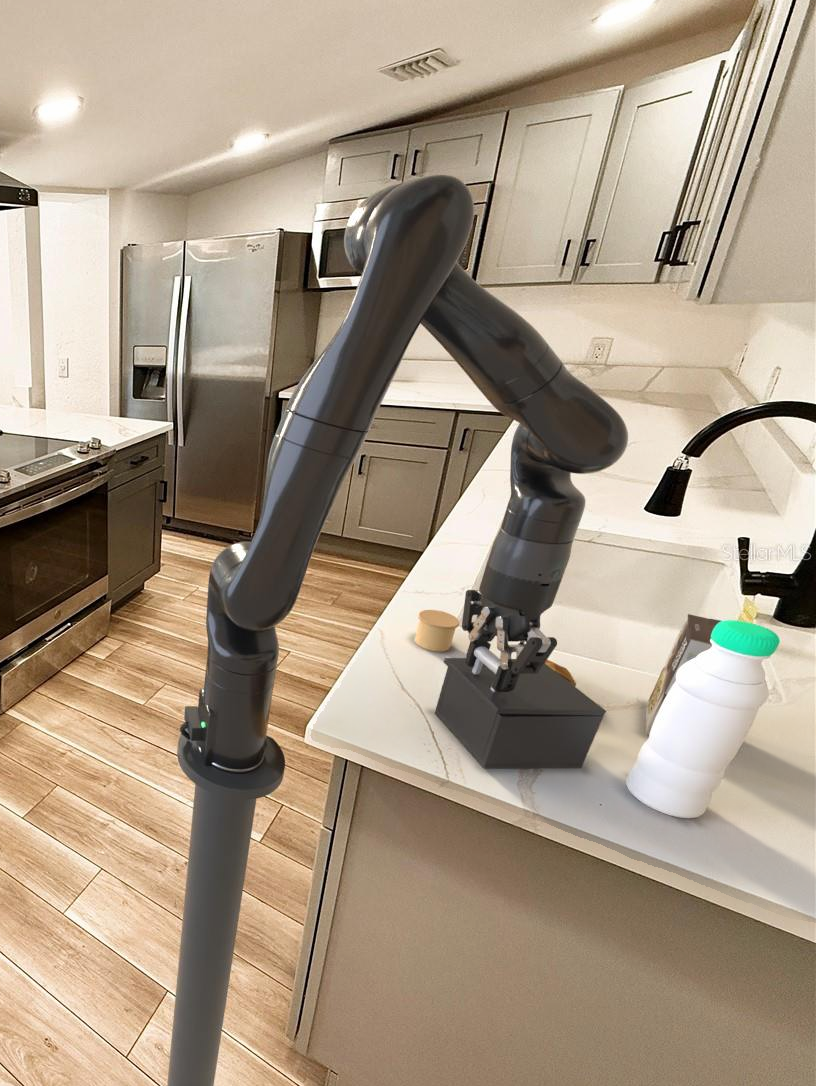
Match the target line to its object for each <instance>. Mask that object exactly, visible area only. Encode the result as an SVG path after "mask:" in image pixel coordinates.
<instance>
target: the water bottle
mask: <svg viewBox="0 0 816 1086" xmlns="http://www.w3.org/2000/svg"><path fill="white" fill-rule="evenodd" d="M720 621H721V622H719V623H718V624H717V625H716V626H715V628H714V629H713V631H712V634H711V639H710V642H711V644H712V647H711V648H710V649H709V650H706V651H704V652H702V653H700V654H699V655H697V656H696V658H693V659H691V660H690V661H688V662H686V663H685V664H683V665H682V666H681V667H680V668H679V669H678V671H677V673H676V681H675V683H674V684H673V686H672V687H671V689H670V690H669V692H668V694H667V695H666V697H665V699H664V701H663V703H662V705H661V707H660V709H659V711H658V714H657V716H656V718H655V721H654V723H653V726H652V728H651V731H650V734H649V735H648V738H647V739H646V740H645V742H644V743H643V744H642V746H641V748H640V750H639V752H638V755H637V759H636V762H635V763H634V764H633V766H632V767H631V768H630V770H629V772H628V774H627V776H626V779H625V780H626V781H625V784H626V787H627V789H628V791H629V792H630V793H631V795H633V796H634V797H635V798H636V799H637V800H638V801H639V802H641V803H642V804H644V805H645V806H647V807H649V808H650V809H653V810H655V811H657V812H660V813H661V814H665V815H668V816H671V817H675V818H681V819H695V818H698V817H701V816H702V815H704V813H705V812H706V810H707V809H708V807H709V805H710V803H711V800H712V797H713V793H714V792H715V791H716V790H717V789H718V787H719V786H720V784H721V783H722V781H723V779H724V776H725V773H726V769H727V767H728V766H729V765H730V764H731V762H732V761H733V759H734V758H735V756H736V755H737V753H738V751H740V748H741V747H742V745H743V743H744V741H745V740H746V738H747V736H748V734H749V733H750V730H751V728H752V726H753V724H754V722H755V720H756V717H757V714H758V712H759V709H760V708H761V707H762V706H763V705H765V704H766V702H767V700H768V698H769V694H770V693H769V692H770V691H769V686H768V682H767V680H766V671H765V669H764V667H763V663H762V662H763V661H764V660H768V659H770V658H771V657H772V655H773V654H774V653H775V652H776V651H777V649H778V647H779V645H780V641H781V640H780V637H779V636H778V634H777V633H775V632H774V631H773V630H771V629H769V628H767V627H764V626H763V625H762V626H761V625H759V624H757V623H752V622H748V621H743V620H735V619H724V620H720Z"/></svg>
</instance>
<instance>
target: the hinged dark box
mask: <svg viewBox="0 0 816 1086" xmlns="http://www.w3.org/2000/svg"><path fill="white" fill-rule="evenodd" d="M434 715H435V716H436V717H437V718H438V719H439V720H440V721H441V722H442V723H443V725H445V727H446V728H447V729H448V731H450V733H451V734H452V735H453V736H454V737H455V738H456V740H458V741H459V743H460V744H461V745H462V746H463V747H464V748H465V749H466V750H467V752H468V753H469V754H470V755H471V756H472V757H473V759H475V761H476V762H477V763H478V764H479V766H480V767H482V769H484V770H487V769H490V770H491V769H495V770H497V769H498V770H499V769H502V770H504V769H506V770H507V769H508V770H509V769H514V770H515V769H516V770H517V769H519V770H521V769H582V768H583V765H584V763H585V760H586V758H587V756H588V754H589V751H590V749H591V747H592V745H593V742H594V740H595V737H596V735H597V733H598V730H599V728H600V726H601V723H602V721H603V719H604V716H592V715H542V714H496V713H495V712H494V711H493V710H492V709H491V708H490V707H489V706H488V705H487V704H486V703H485V702H484V701H483V700H482V699H481V698H480V697H479V696H478V695H477V694H476V693H475V692H474V691H473V690H472V689H471V688H469V687H468V686H467V685H466V684H465V683H464V682H463V681H462V680H461V679H460V678H459V677H458V676H457V675H456V674H455V673H454V672H453V671H452V670H451V669H450V668H449V667H448V666H447V668H446V671H445V675H444V678H443V682H442V685H441V689H440V693H439V695H438V700H437V703H436V707H435V710H434Z"/></svg>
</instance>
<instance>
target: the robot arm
mask: <svg viewBox="0 0 816 1086" xmlns="http://www.w3.org/2000/svg"><path fill="white" fill-rule="evenodd" d="M472 195H473V194H472V191H470V189H469V187H468V186H467V184H465V182H464V181H462V180H461V179H460V178H458V177H456V176H453V175H449V174H432V175H424V176H421V177H416V178H413V179H409V180H406V181H402V182H399V183H396V184H392V185H390V186H387V187H385V188H382V189H380V190H378V191H376V192H373V193H372V194H371V195H369V196H367V197H366V198H365V199H363V201H362V202H360V203H359V204H358V205H357V207H356V208H355V209H354V210H353V212H352V214H350V217H349V219H348V221H347V224H346V227H345V229H344V235H343V236H344V237H343V247H344V252H345V256H346V258H347V261H348V262H349V264H350V265H351V267H352V268H353V269H354V270H355V271H357V272H358V273H359V274H360V275H361V276H360V279H359V281H358V284H357V286H356V289H355V292H354V294H353V296H352V300H351V302H350V305H349V307H348V309H347V312H346V314H345V316H344V318H343V320H342V322H341V323H340V325H339V327H338V328H337V330H336V332H335V333H334V334H333V337H332V338H331V339H330V341H329V342H328V343H327V344H326V345H325V347H324V349H323V350H322V351H321V352H320V354H319V355H318V356H317V357H316V359H315V360H314V361H313V363H312V364H311V365H310V367H309V368H308V369H307V370H306V372H305V374H304V375H303V376H302V377H301V379H300V380H299V382H298V384H297V385H296V387H295V388H294V390H293V392H292V394H291V395H290V397H289V400H288V402H287V404H286V407H285V409H284V411H283V413H282V416H281V419H280V421H279V424H278V426H277V428H276V431H275V434H274V435H273V436H274V437H273V439H272V443H271V446H270V450H269V453H268V459H267V463H266V464H267V465H266V471H265V472H266V473H265V480H264V490H263V499H262V506H261V512H260V518H259V520H258V525H257V527H256V530H255V533H254V534H253V537H252V539H251V540H250V541H239V542H235V543H232V544H230V545H228V546H227V547H225V548H224V549H223V550H221V552H219V554H217V556H216V557H215V559H214V560H213V563H212V565H211V566H210V567H211V568H210V571H209V576H208V577H209V578H208V585H207V599H206V616H205V617H206V619H205V626H206V635H207V651H206V652H207V653H206V662H205V663H206V665H205V674H204V685H203V688H200V689H199V692H198V705H190V706H189V705H187V706H185V707H184V715H183V716H184V717H183V719H184V723H182V724H181V725H180V727H179V731H180V734H182V735H183V736H184V737H186V738H187V739H188V740H190V739H191V741H196V742H197V745H198V750H199V753H200V755H201V758H202V761H203V764H204V765H205V766H213V767H215V768H217V769H219V770H221V771H224V772H228V773H235V774H243V773H249V772H252V771H254V770H256V769H258V768H259V767H260V766H261V764H262V763H263V759H264V750H265V747H266V749H267V742H266V735H267V734H268V726H269V720H270V714H271V706H272V700H273V693H274V686H275V680H276V674H277V673H276V672H277V666H278V661H279V653H280V643H279V639H278V638H279V637H278V633H277V629H276V626H277V625H279V624H281V622H282V621H284V620H285V618H287V616H288V615H289V614H290V613H291V611H292V610H293V608H294V606H295V604H296V603H297V601H298V597H299V594H300V593H301V589H302V587H303V583H304V580H305V577H306V575H307V571H308V568H309V566H310V562H311V559H312V556H313V553H314V550H315V548H316V545H317V542H318V540H319V537H320V535H321V533H322V530H323V529H324V526H325V525H326V523H327V520H328V518H329V516H330V514H331V512H332V510H333V507H334V506H335V503H336V501H337V500H338V497H339V494H340V493H341V491H342V487H343V486H344V483H345V481H346V479H347V477H348V475H349V473H350V471H351V470H352V468H353V465H354V464H355V461H356V460H357V459H358V458H357V457H358V456H359V454H360V452H361V450H362V447H363V445H364V443H365V441H366V439H367V436H368V435H369V431H370V430H371V428H372V426H373V423H374V421H375V418H376V416H377V413H378V411H379V409H380V407H381V405H382V403H383V401H384V398H385V397H386V395H387V393H388V391H389V388H390V386H391V384H392V382H393V380H394V378H395V376H396V374H397V371H398V369H399V368H400V365H401V363H402V361H403V358H404V356H405V353H406V351H407V349H408V347H409V345H410V344H411V341H412V339H413V338H414V336H415V334H416V332H417V330H418V328H419V326H420V325H421V326H423V328H425V330H426V331H427V332H428V333H430V335H431V336H432V337H433V338H434V339H435V340H436V341H437V343H439V344H440V345H441V346H442V347H443V349H444V350H445V351H446V352H447V353H448V354H449V356H450V357H451V358H452V359H453V360H454V361H455V363H457V365H458V366H459V367H460V368H461V369H462V371H463V372H464V373H465V374H466V375H467V377H468V378H469V379H470V380H471V381H472V384H474V385H475V386H476V388H477V389H478V390H479V391H480V393H481V394H482V395H483V396H484V397H485V398H486V400H487V401H488V402H489V403H490V405H492V406H493V407H494V409H496V410H497V411H498V412H499V413H500V414H502V415H503V416H504V417H507V418H509V419H511V420H513V421H516V422H517V423H518V425H517V427H516V429H515V431H514V434H513V437H512V441H511V447H510V470H509V471H510V472H509V473H510V474H509V482H510V497H509V500H508V503H507V505H506V510H505V512H504V515H503V518H502V521H501V524H500V528H499V531H498V532H497V534H496V536H495V538H494V540H493V543H492V545H491V549H490V552H489V555H488V559H487V561H486V565H485V568H484V572H483V575H482V577H481V581H480V584H479V588H478V589H467V590H466V591H465V597H464V605H463V612H462V613H463V614H462V619H461V620H462V621H461V629H462V631H464V632H467V633H468V640H469V645H468V648H467V651H466V654H465V658H466V660H465V663H466V664H467V665H468V666H469V667H474V664H475V661H476V658H477V657H476V656H474V650H475V649H476V648H478V647H480V646H484V647H486V648H487V649H489V650H490V649H491V646H492V644H491V643H490V642H492V641H493V640H494V638H495V637H496V649H497V650H498V651H500V659H501V662H500V665H501V666H498V669H497V672H496V675H495V678H494V681H493V684H492V688H493V689H494V690H495V691H496V692H510V691H512V690H513V689H514V688H515V686H516V683H517V680H518V678H519V675H520V673H531V674H537V673H538V672H539V670H540V669H541V667H542V666H543V664H544V663H545V662H546V660H549V657H550V656H551V654H552V653H553V651H554V650H555V649H556V647H557V645H558V640H557V638H555V637H554V636H546V634H545V633H544V632H543V631H541V615H542V614H544V613H545V612H546V611H548V610H549V609H550V608H551V607H552V606H553V604H554V601H555V599H556V597H557V593H558V592H559V588H560V587H561V586H560V585H561V583H562V580H563V578H564V575H565V572H566V570H567V566H568V563H569V561H570V558H571V555H572V554H571V553H572V548H573V543H574V539H575V537H576V534H577V532H578V529H579V526H580V523H581V520H582V518H583V515H584V512H585V507H586V497H585V495H584V494H583V493H582V492H581V491H580V490H579V489H578V488H577V487H576V485H574V483H573V481H572V478H571V476H572V475H571V474H575V475H576V474H577V475H579V474H580V475H589V474H595V473H599V472H601V471H604V470H606V469H608V468H610V467H611V466H613V465H615V464H616V463H617V462H618V461H619V460H620V459H621V458H622V456H623V455H625V452H626V449H627V447H628V443H629V432H628V428H627V424H626V423H625V421H624V419H623V418H622V416H621V415H620V413H619V412H618V411H617V410H616V409H615V408H614V407H613V406H612V405H611V404H610V403H608V402H607V401H606V399H604V398H603V397H601V396H600V395H599V394H597V393H596V392H595V391H594V390H593V389H592V388H591V387H590V386H588V385H587V384H586V383H584V382H583V381H581V380H580V379H578V378H577V377H576V376H574V374H572V373H571V372H570V371H569V370H568V369H567V367H566V366H565V364H564V363H563V362H562V360H561V358H560V357H559V356H558V355H557V353H556V352H555V351H554V350H553V348H552V347H551V346H550V344H549V343H548V342H547V341H546V340H545V338H544V337H543V336H542V334H541V333H540V332H538V330H537V329H536V328H535V327H534V326H533V325H532V324H530V322H529V321H527V320H526V319H525V318H524V317H523V316H522V315H520V314H519V313H518V312H517V311H515V310H514V309H512V307H510V306H508V305H507V304H506V303H504V302H503V301H501V300H500V299H499V298H498V297H496V296H494V295H493V294H492V293H491V292H490V291H488V290H487V289H486V288H484V287H483V286H482V285H480V284H479V283H478V282H477V281H476V280H475V279H474V278H473V277H472V276H471V275H470V274H469V273H468V272H466V271H465V269H464V268H463V267H462V266H461V265H460V264H459V263H458V260H459V258H460V257H461V255H462V253H463V251H464V249H465V247H466V245H467V243H468V241H469V237H470V235H471V232H472V229H473V226H474V219H475V203H474V199H473V196H472ZM473 616H476V619H475V621H473ZM511 642H512V643H514V642H515V643H516V642H518V643H517V644H509V643H511ZM513 653H515V655H516V656H515V659H516V660H511V659H512V654H513ZM529 662H530V663H529ZM483 665H484V664H483ZM186 728H187V729H188V732H189V733H187V732H186V731H185V729H186Z"/></svg>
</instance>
